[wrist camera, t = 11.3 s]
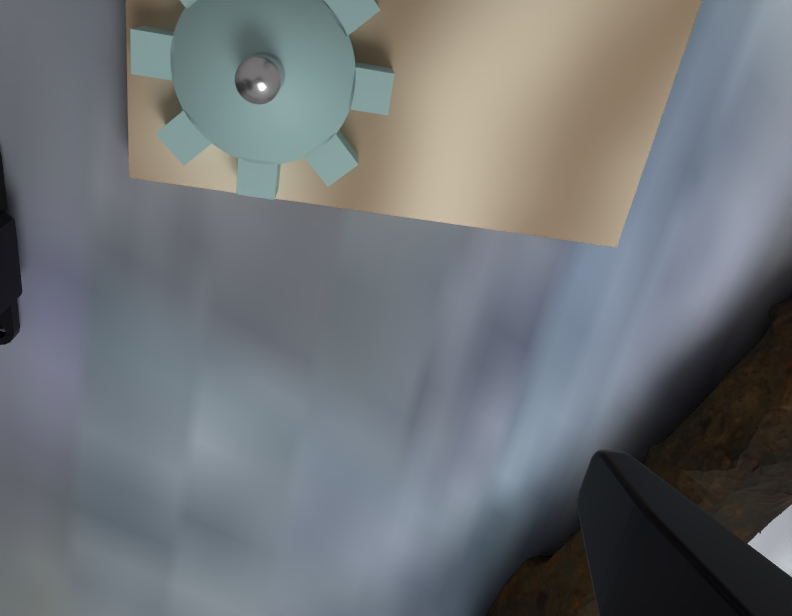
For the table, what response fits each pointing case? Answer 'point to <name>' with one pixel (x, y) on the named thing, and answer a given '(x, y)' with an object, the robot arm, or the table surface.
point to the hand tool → (696, 472)
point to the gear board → (409, 104)
